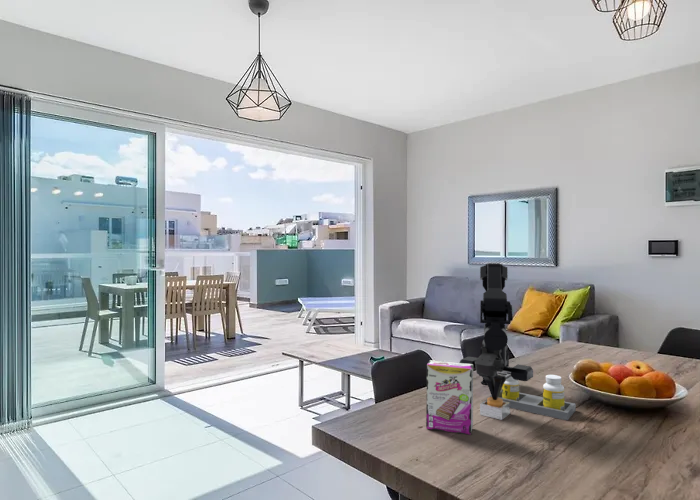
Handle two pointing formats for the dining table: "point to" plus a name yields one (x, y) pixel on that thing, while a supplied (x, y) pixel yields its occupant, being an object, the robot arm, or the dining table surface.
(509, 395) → the supplement bottle
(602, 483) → the dining table surface
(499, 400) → the button
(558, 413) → the bottle holder
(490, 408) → the button console
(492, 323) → the robot arm
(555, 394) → the supplement bottle
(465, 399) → the candy bar box
